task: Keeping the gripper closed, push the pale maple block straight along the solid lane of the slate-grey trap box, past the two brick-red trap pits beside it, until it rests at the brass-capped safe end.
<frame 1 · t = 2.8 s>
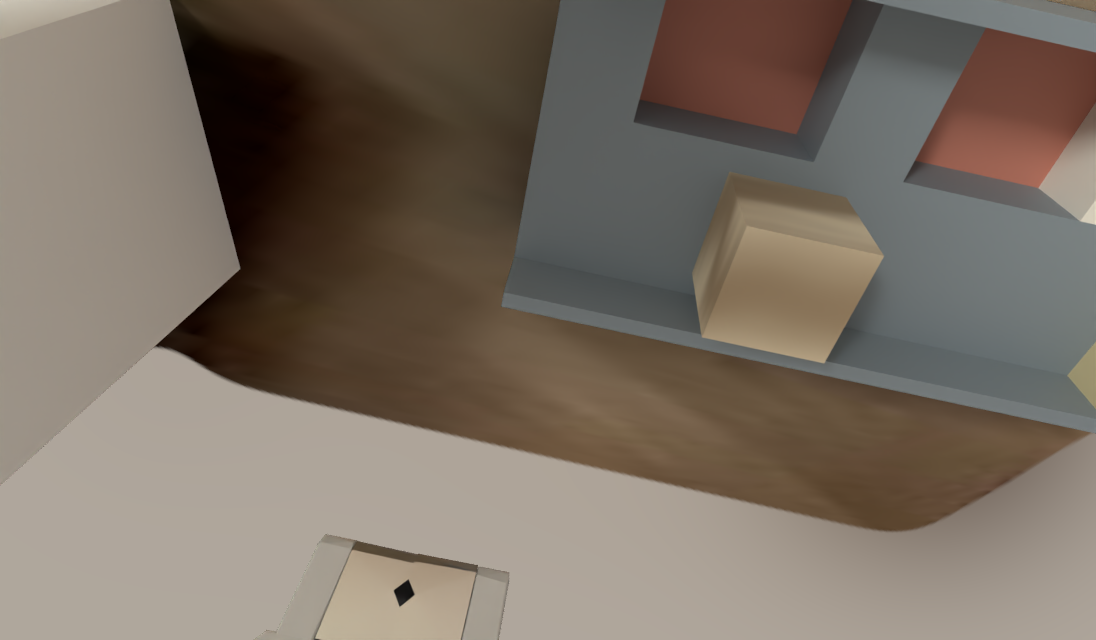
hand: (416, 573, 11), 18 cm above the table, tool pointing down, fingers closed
block: (765, 236, 23), point 3 cm above the table, touching trap box
trap box: (843, 153, 24), on the table
milk: (69, 132, 27), on the table
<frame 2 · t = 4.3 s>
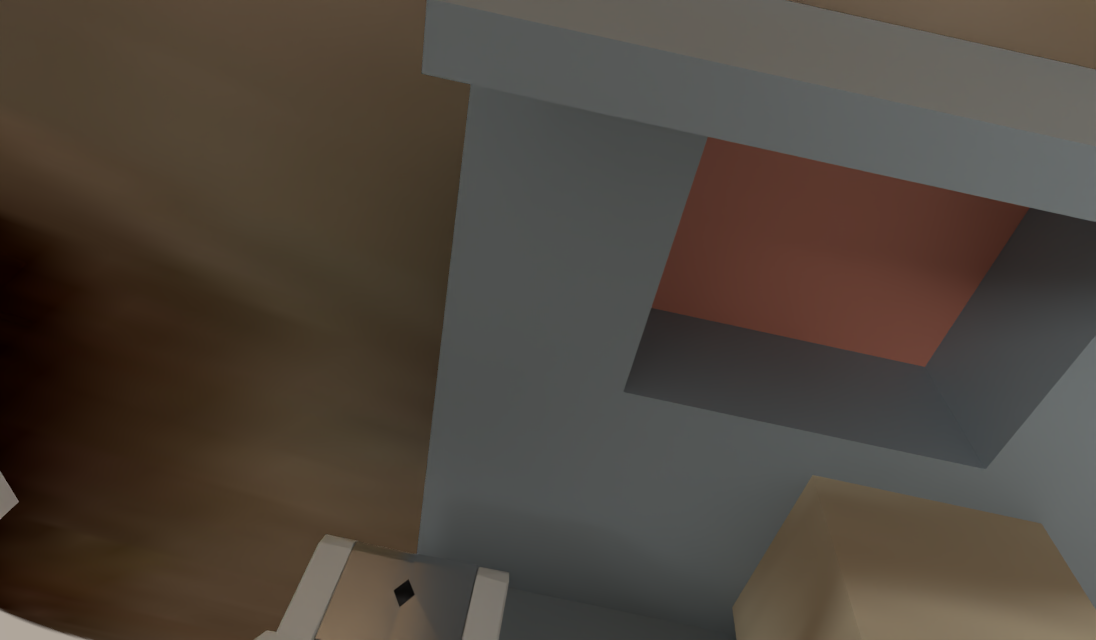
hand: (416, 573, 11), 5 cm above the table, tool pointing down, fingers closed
block: (873, 569, 12), point 3 cm above the table, touching trap box
trap box: (1005, 393, 13), on the table
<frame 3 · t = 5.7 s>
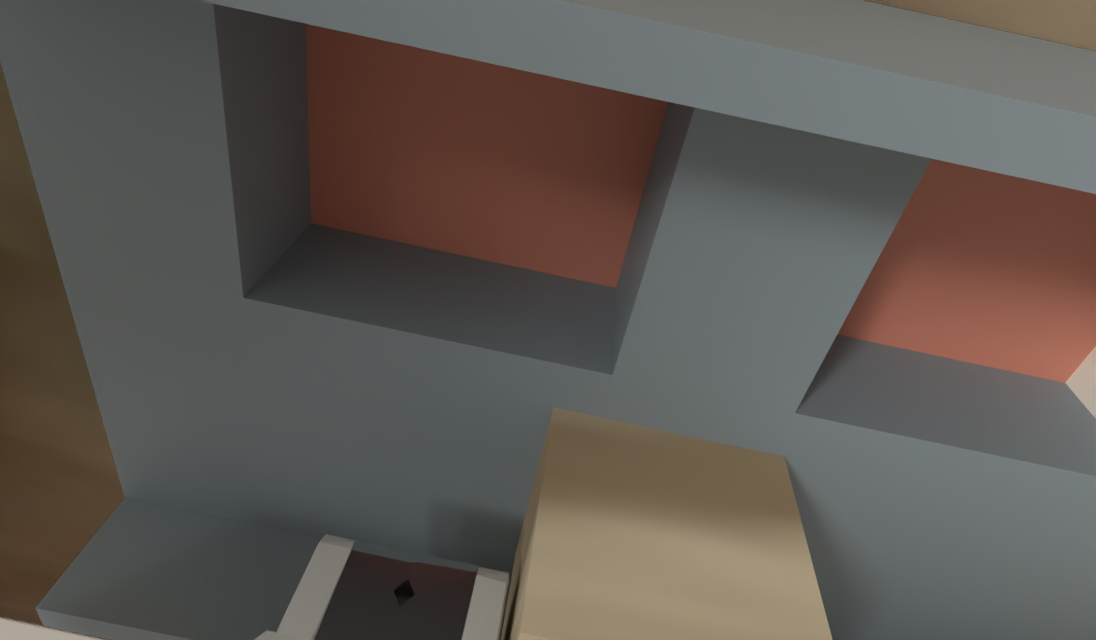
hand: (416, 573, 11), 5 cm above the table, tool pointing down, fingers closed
block: (638, 508, 12), point 3 cm above the table, touching gripper, trap box
trap box: (708, 317, 13), on the table
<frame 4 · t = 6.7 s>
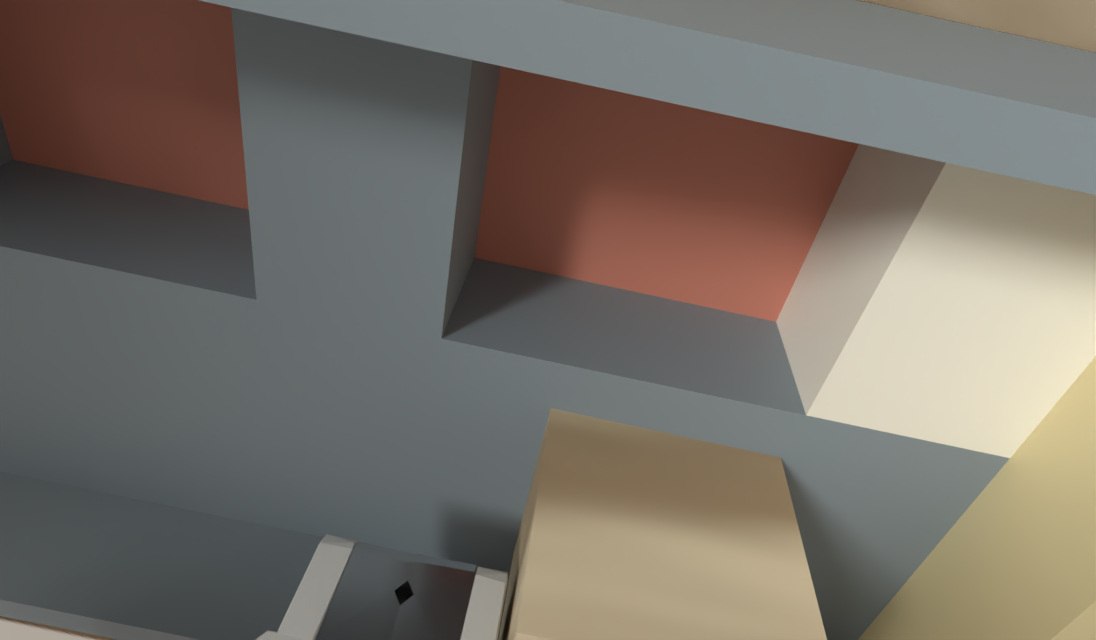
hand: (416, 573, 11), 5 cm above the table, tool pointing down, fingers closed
block: (635, 508, 12), point 3 cm above the table, touching gripper, trap box
trap box: (426, 257, 13), on the table
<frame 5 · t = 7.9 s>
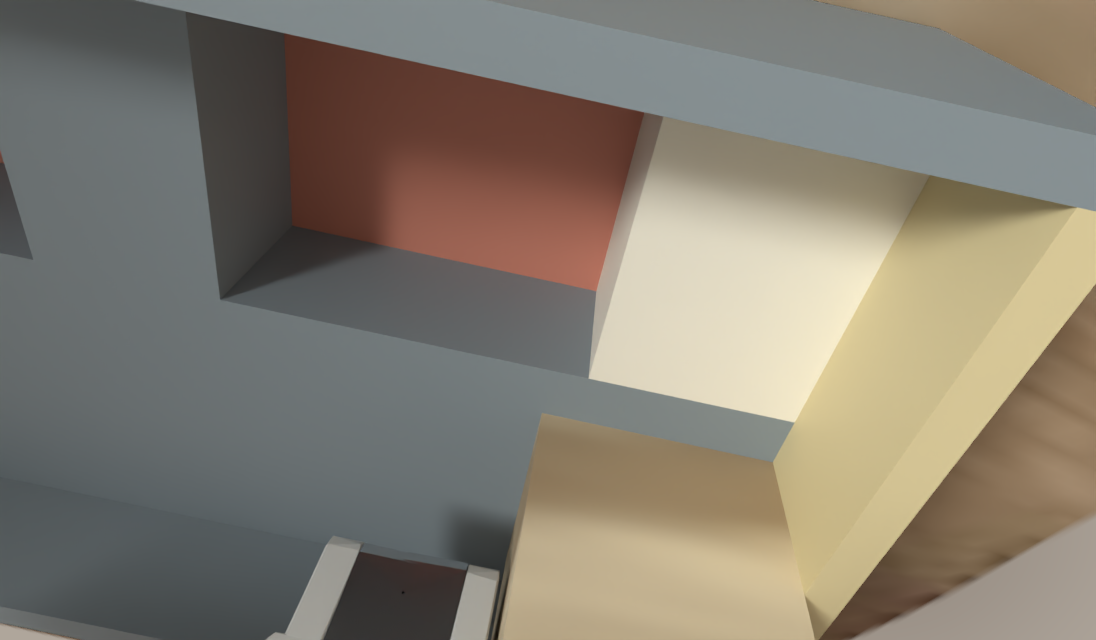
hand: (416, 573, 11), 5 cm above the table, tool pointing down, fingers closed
block: (627, 513, 12), point 3 cm above the table, touching gripper, trap box
trap box: (250, 226, 13), on the table
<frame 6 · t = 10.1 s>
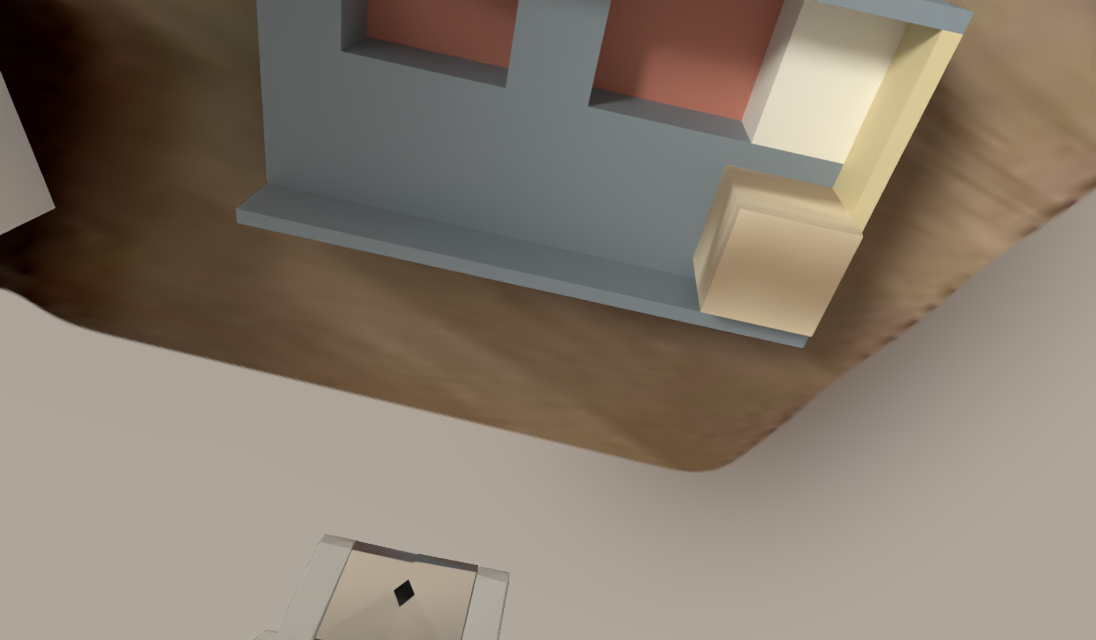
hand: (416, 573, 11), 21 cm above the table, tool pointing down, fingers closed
block: (759, 224, 25), point 3 cm above the table, touching trap box
trap box: (565, 89, 26), on the table
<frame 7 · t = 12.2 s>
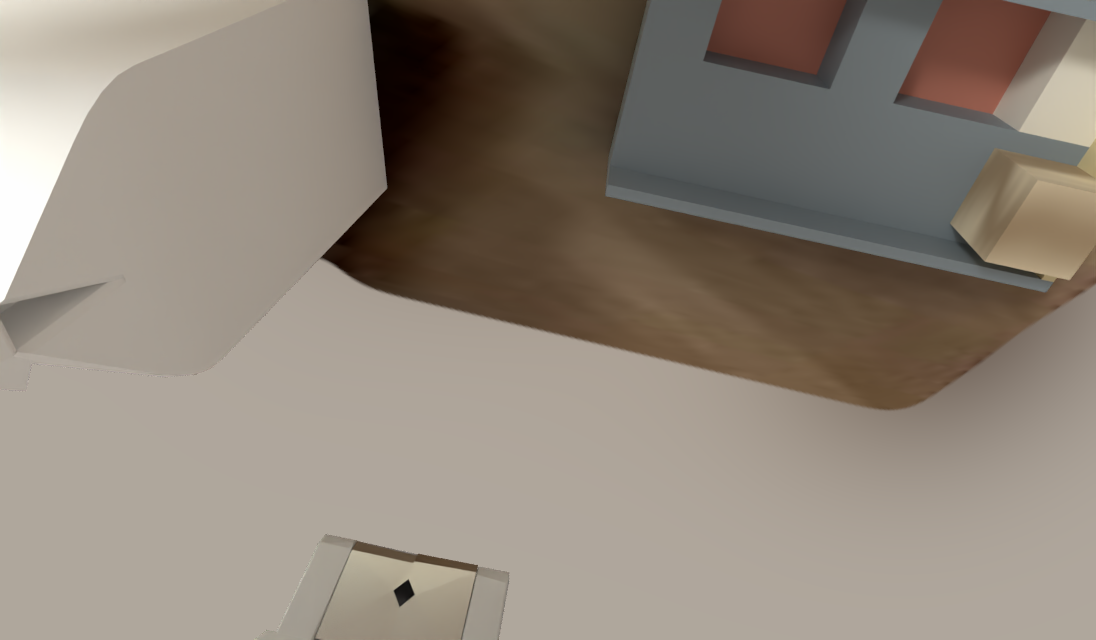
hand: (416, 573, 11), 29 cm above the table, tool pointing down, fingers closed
block: (1011, 195, 32), point 3 cm above the table, touching trap box
trap box: (850, 90, 33), on the table
milk: (271, 80, 36), on the table
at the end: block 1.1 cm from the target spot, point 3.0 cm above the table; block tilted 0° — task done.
